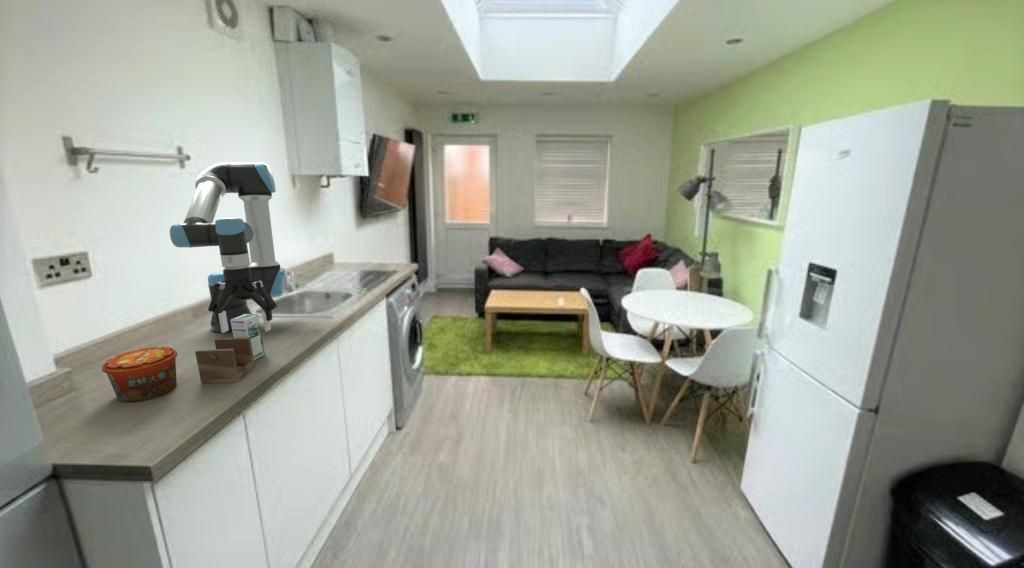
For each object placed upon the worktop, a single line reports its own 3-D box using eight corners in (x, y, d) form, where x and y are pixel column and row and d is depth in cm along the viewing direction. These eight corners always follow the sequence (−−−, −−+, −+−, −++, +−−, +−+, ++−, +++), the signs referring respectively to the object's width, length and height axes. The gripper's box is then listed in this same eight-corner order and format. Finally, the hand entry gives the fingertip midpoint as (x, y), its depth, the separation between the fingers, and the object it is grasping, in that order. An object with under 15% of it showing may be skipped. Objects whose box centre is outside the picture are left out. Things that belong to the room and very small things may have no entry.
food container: (180, 395, 119) (173, 359, 116) (103, 412, 111) (93, 373, 108) (186, 374, 132) (179, 341, 129) (117, 387, 124) (108, 352, 121)
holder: (223, 367, 137) (218, 337, 134) (256, 366, 137) (251, 336, 135) (199, 384, 125) (193, 352, 123) (235, 383, 126) (229, 351, 123)
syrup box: (252, 361, 140) (245, 319, 137) (236, 360, 141) (229, 318, 138) (265, 355, 146) (259, 314, 142) (250, 353, 147) (243, 313, 143)
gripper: (187, 270, 132) (199, 336, 137) (271, 268, 133) (280, 333, 138) (203, 265, 139) (214, 328, 144) (282, 264, 141) (290, 325, 145)
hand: (246, 330), depth 141 cm, fingers open, 13 cm apart
